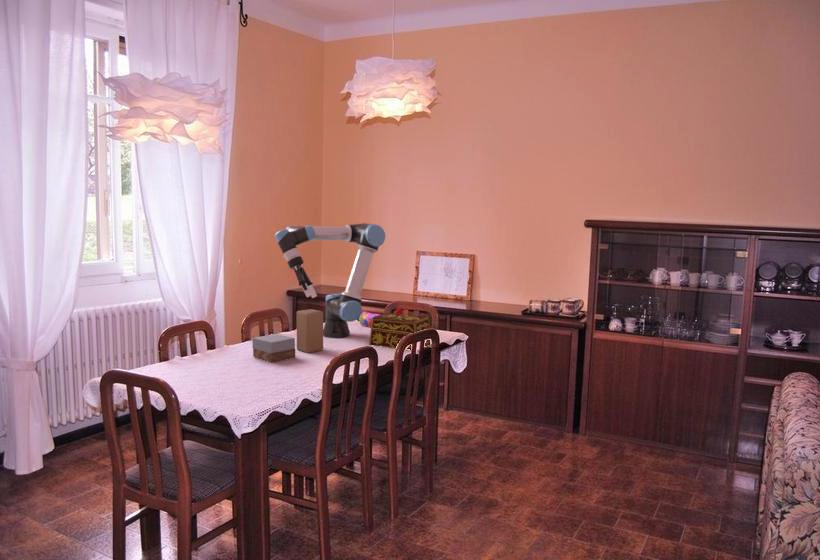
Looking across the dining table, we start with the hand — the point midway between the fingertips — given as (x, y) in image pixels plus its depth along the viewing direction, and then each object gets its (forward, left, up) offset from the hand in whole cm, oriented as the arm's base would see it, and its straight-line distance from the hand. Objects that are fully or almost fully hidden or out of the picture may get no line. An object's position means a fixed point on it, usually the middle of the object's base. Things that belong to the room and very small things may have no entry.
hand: (312, 296), depth 329 cm
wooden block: (+1, -2, -27) cm, 27 cm away
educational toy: (+5, +61, -27) cm, 67 cm away
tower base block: (+1, -24, -27) cm, 36 cm away
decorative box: (+24, +40, -27) cm, 54 cm away
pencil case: (-17, +62, -27) cm, 70 cm away
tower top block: (+1, -24, -22) cm, 33 cm away
